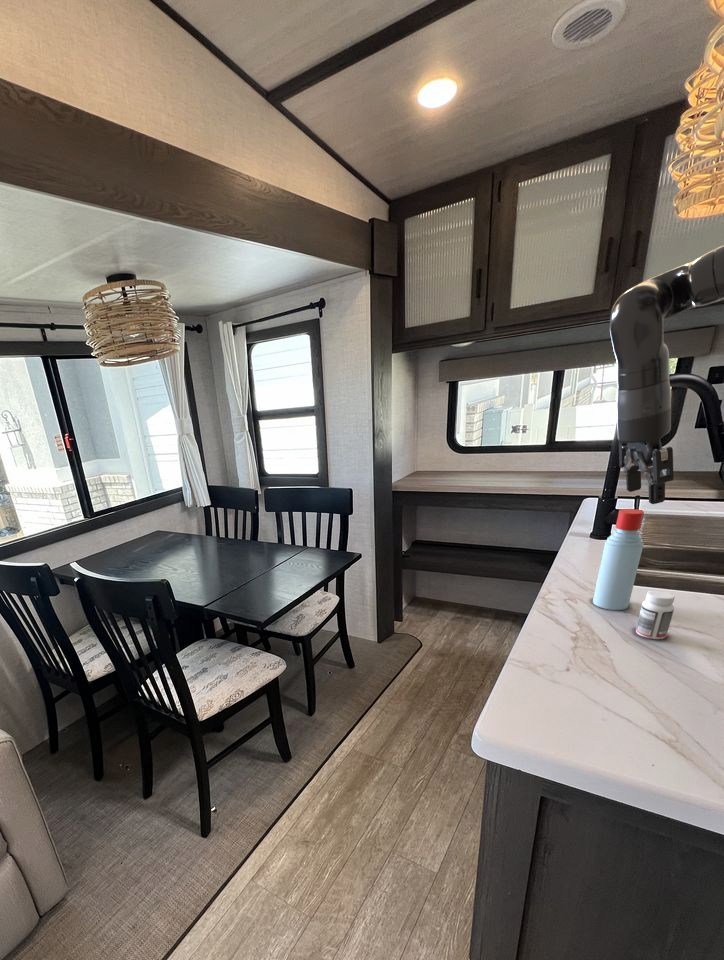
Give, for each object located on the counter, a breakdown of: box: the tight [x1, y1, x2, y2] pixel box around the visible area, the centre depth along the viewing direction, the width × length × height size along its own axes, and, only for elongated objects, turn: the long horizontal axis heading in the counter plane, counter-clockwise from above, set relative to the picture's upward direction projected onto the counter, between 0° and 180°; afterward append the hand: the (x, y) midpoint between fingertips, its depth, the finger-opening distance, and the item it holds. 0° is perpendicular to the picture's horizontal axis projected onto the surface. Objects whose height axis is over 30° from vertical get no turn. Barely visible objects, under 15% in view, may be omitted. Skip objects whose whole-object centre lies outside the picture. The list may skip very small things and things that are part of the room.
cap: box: [615, 508, 645, 531], centre depth 94 cm, size 4×4×3 cm
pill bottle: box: [635, 589, 675, 640], centre depth 88 cm, size 5×5×8 cm
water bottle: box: [592, 528, 644, 611], centre depth 98 cm, size 6×6×20 cm
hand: (644, 496), depth 89 cm, fingers open, 8 cm apart
